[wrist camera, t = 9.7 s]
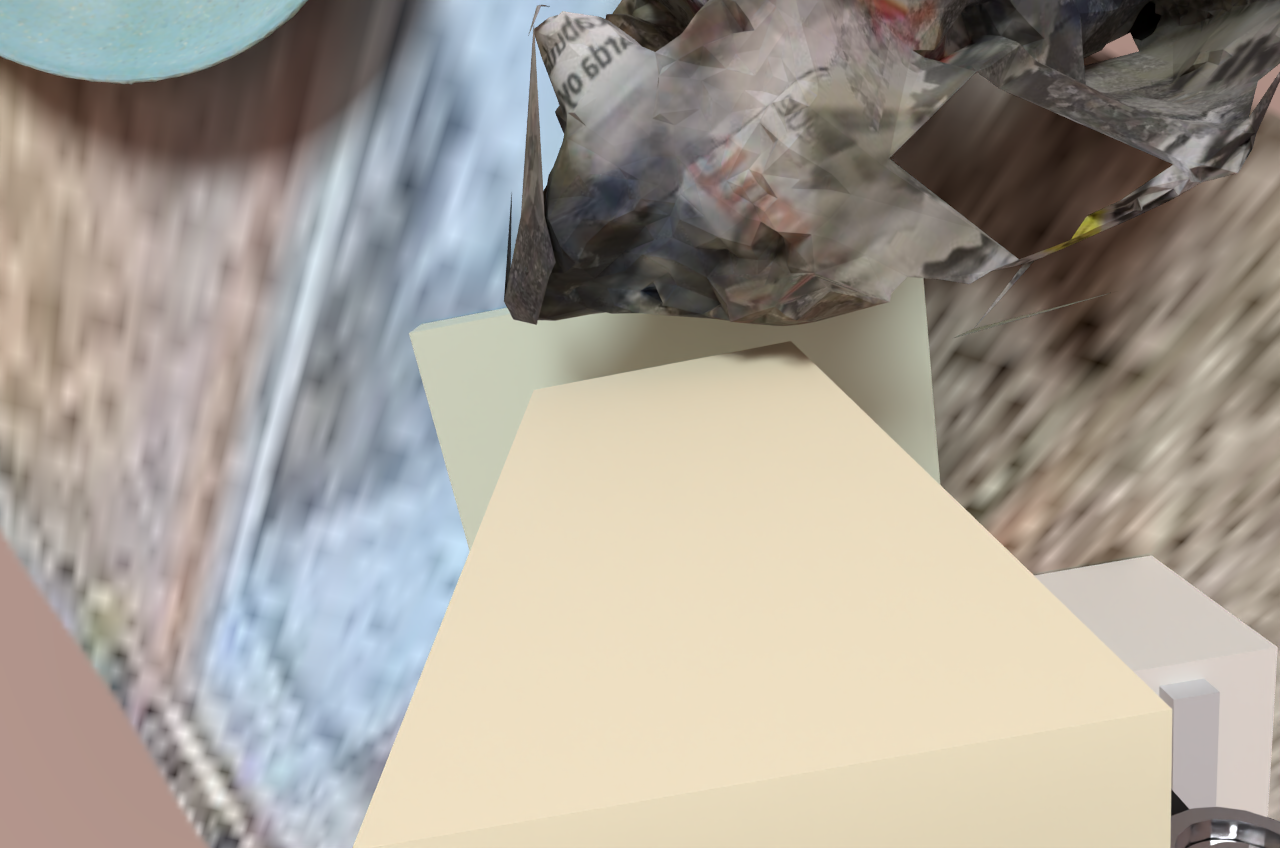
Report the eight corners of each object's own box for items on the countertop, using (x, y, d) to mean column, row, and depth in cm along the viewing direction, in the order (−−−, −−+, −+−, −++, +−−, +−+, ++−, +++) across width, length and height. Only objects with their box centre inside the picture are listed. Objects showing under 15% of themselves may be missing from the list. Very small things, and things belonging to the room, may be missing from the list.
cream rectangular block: (790, 340, 15) (1173, 710, 5) (832, 654, 17) (1163, 1395, 7) (533, 389, 15) (351, 851, 5) (606, 694, 17) (586, 1477, 7)
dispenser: (1150, 555, 22) (1295, 660, 17) (1150, 888, 26) (1269, 1051, 21) (722, 629, 23) (747, 751, 18) (779, 946, 26) (813, 1118, 21)
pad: (902, 231, 19) (919, 235, 18) (931, 561, 22) (948, 582, 21) (422, 324, 20) (409, 333, 19) (506, 635, 23) (500, 659, 21)
